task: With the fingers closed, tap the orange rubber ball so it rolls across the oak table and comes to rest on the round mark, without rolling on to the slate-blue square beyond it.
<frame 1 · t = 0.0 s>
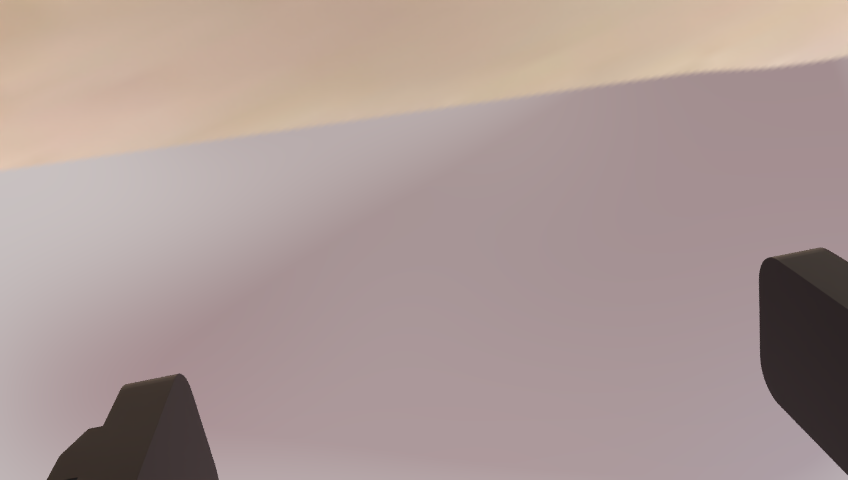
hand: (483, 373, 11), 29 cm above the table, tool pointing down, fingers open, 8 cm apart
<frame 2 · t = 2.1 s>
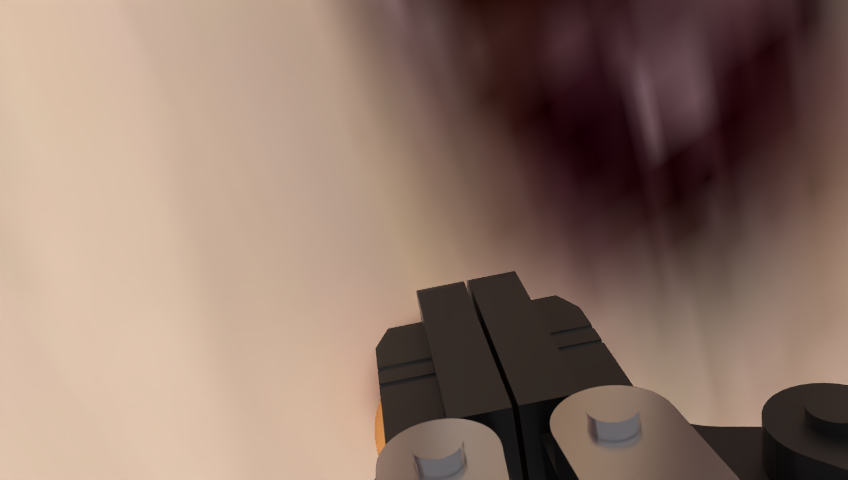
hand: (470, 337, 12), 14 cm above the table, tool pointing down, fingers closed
ball: (457, 428, 26), on the table
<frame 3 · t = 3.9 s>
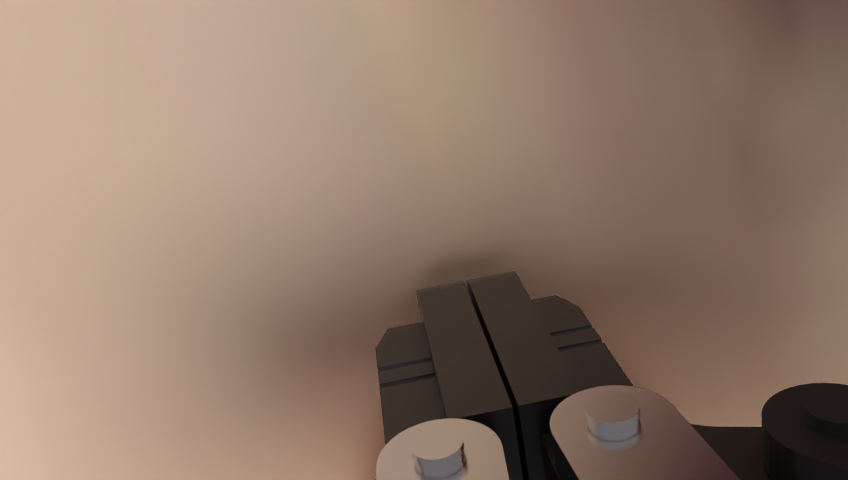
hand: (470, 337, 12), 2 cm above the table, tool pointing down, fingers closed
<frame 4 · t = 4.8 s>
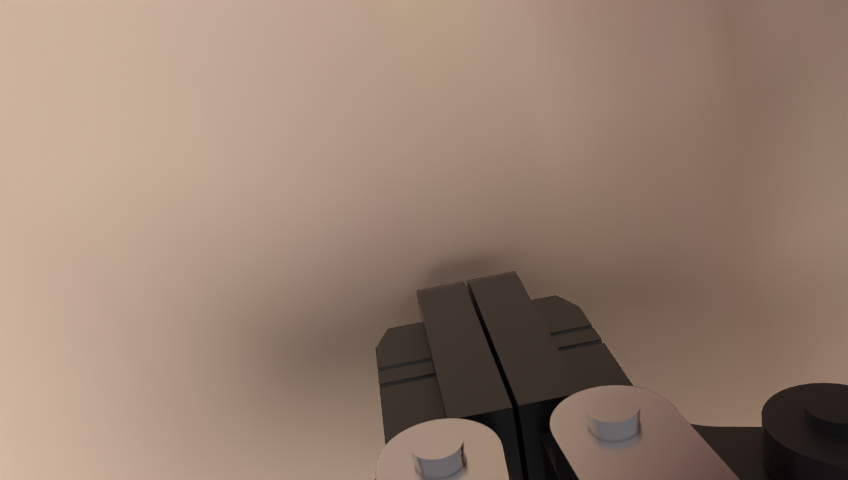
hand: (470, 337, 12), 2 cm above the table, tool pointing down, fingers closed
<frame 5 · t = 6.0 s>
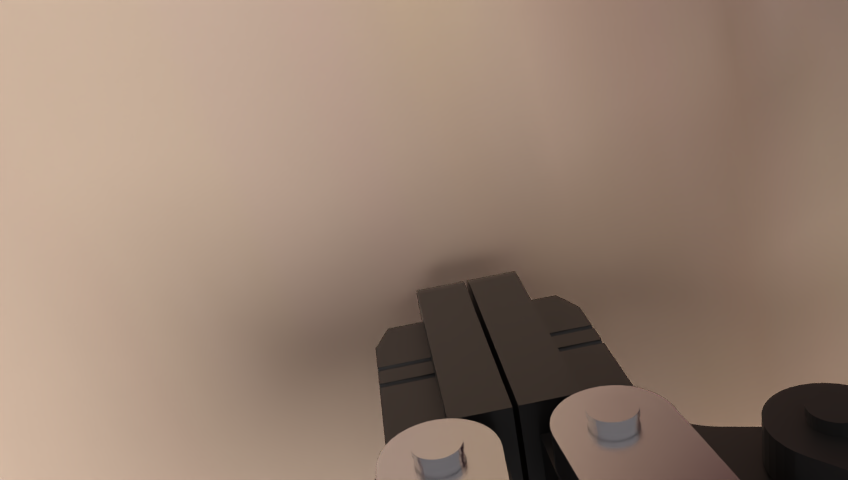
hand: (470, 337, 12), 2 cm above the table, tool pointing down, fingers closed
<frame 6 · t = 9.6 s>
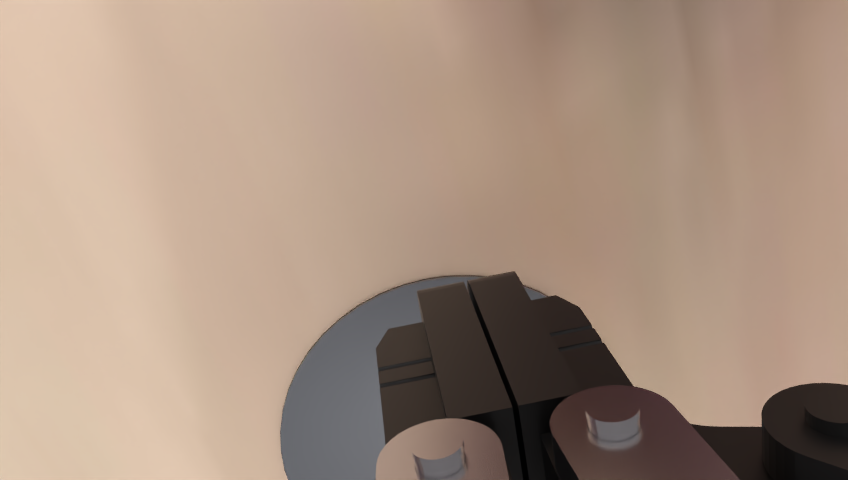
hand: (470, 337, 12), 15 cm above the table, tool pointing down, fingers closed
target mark: (453, 432, 30), on the table
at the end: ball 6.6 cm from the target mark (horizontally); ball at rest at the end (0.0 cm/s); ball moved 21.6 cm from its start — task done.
